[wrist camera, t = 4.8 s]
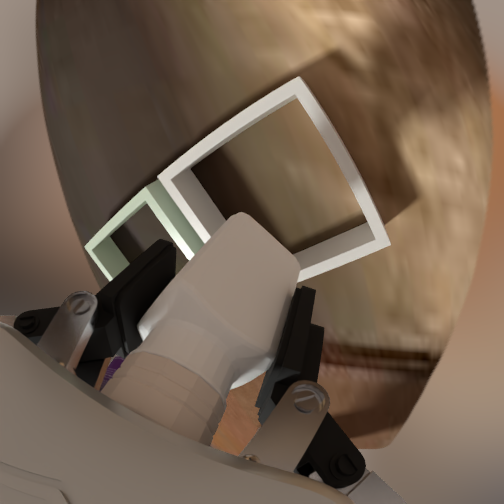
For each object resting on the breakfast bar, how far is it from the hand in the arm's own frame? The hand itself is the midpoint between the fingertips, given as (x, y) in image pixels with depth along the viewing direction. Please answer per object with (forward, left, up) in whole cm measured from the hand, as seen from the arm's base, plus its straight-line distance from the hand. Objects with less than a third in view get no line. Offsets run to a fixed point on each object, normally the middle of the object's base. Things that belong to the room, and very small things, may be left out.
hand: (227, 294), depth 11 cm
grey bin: (+1, 0, -11) cm, 11 cm away
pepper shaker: (0, 0, -3) cm, 3 cm away
